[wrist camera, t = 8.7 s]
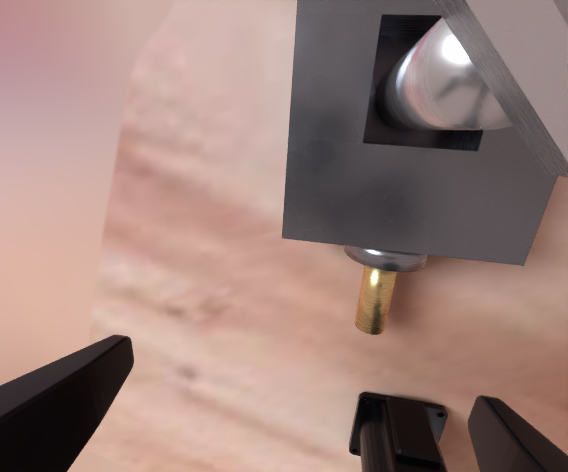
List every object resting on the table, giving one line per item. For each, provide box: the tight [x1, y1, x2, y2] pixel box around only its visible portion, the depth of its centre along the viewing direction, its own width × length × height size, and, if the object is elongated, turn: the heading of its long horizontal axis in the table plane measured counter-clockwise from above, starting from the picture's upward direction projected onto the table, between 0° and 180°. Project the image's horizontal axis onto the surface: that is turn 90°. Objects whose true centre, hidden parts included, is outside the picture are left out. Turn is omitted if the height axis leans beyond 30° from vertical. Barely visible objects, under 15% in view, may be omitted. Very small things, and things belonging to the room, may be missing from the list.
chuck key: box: [377, 0, 568, 177], centre depth 10 cm, size 6×3×9 cm, turn 41°
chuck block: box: [282, 0, 558, 335], centre depth 15 cm, size 20×11×5 cm, turn 176°
